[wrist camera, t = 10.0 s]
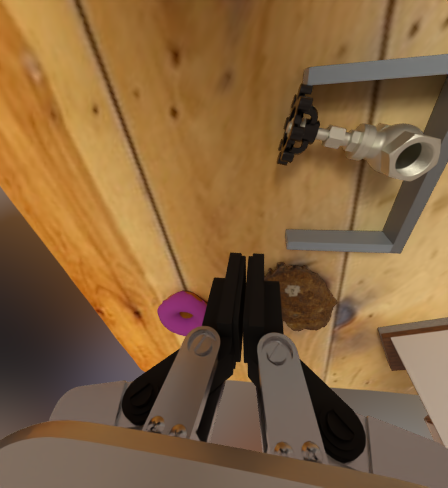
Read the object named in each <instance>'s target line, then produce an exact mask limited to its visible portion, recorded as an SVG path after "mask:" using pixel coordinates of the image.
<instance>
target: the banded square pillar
mask: <svg viewBox="0 0 448 488" xmlns="http://www.w3.org/2000/svg"><path fill="white" fill-rule="evenodd" d="M378 331H379V334H380V337H381V341H382V344H383V348H384V351H385V354H386V358H387V361H388V363H389V365H390V368H391V370H392V371H395V370H406V371H407V373H408V375H409V377H410V379H411V381H412V383H413V385H414V387H415V389H416V391H417V393H418V395H419V397H420V398H421V401H422V403H423V405H424V407H425V408H426V411H427V413H428V415H427V416H426V417H425V418H424V420H425V422H426V424H427V426H428V428H429V430H430V433H431V435H432V437H433V439H434V441H435V442H437V443H439V444H441V445H443V446H445V447H446V448H448V317H447V318H441V319H434V320H427V321H420V322H414V323H407V324H400V325H393V326H386V327H380V328H378Z"/></svg>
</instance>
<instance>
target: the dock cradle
mask: <svg viewBox="0 0 448 488" xmlns="http://www.w3.org/2000/svg"><path fill="white" fill-rule="evenodd" d="M442 74H448V54H442V55H432V56H421V57H411V58H400V59H390V60H379V61H369V62H358V63H348V64H337V65H327V66H316V67H309V68H307V69H304V76H303V84H307V85H320V84H332V83H344V82H356V81H369V80H381V79H393V78H405V77H417V76H429V75H442ZM423 134H424V135H427V136H431V137H434V138H438V139H441V148H440V155H439V159H438V162H437V165H435V166H434V167H433V168H432V169H430V170H429V171H428V172H426V173H425V174H423V175H422V176H420V177H418V178H417V179H415V180H413V181H403V183H402V186H401V188H400V190H399V193H398V195H397V197H396V200H395V202H394V205H393V207H392V209H391V212H390V214H389V217H388V219H387V221H386V224H385V226H384V228H383V231H341V230H294V229H286V233H285V239H286V247H287V249H290V250H318V251H346V252H374V253H401V252H402V250H403V248H404V246H405V244H406V242H407V240H408V238H409V236H410V234H411V232H412V230H413V228H414V226H415V225H416V223H417V221H418V219H419V217H420V215H421V213H422V211H423V209H424V207H425V205H426V203H427V201H428V199H429V197H430V195H431V193H432V191H433V189H434V187H435V186H436V184H437V182H438V180H439V178H440V176H441V174H442V172H443V170H444V168H445V166H446V164H447V162H448V76H447V78H446V81H445V83H444V85H443V88H442V90H441V92H440V95H439V97H438V100H437V102H436V104H435V107H434V109H433V112H432V114H431V116H430V119H429V121H428V123H427V126H426V128H425V131H424V133H423Z"/></svg>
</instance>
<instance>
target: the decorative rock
mask: <svg viewBox="0 0 448 488" xmlns="http://www.w3.org/2000/svg"><path fill="white" fill-rule="evenodd" d="M264 280H265V281H279V283H280V295H281V308H282V320H283V321H285V322H286V324H287V326H288V327H290V328H291V329H292V330H293V331H301V330H303V329H308V330H318V329H320V328H321V327H325V326H326V325H327V322H329V320H330V317H331V313H332V310H333V307H334V306H335V305H336V304H337V300H336V299H335V298H334V297H333V295H332V293H330V291H329V290H328V289H327V286H326V284H325V282H324V281H323V280H322V279H321V278H320V277H319V275H318V274H317V273H312V272H311V271H309V270H308V269H307V266H306V265H304V266H303V267H299V266H296V265H295V266H292V265H291V266H288V267H287V266H286V265H285V263H284V262H279V263H277V270H276V271H274V270H271V268H269V272H268V274H267V276H264Z"/></svg>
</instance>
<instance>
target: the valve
mask: <svg viewBox="0 0 448 488" xmlns="http://www.w3.org/2000/svg"><path fill="white" fill-rule="evenodd" d="M312 89H313V86H312V85H307V84H301V85H300V87H299V89H298V93H297V95H296V94H295V95H294V98H293V101H292V104H291V108H292V109H291V113H290V116H289V117H287V118H286V121H285V124H284V130H285V132H284V136H283V139H281V141H280V144H279V148H278V150H279V151H281V152H280V153H279V155H278V158H277V164H281V165H287V163H288V162H289V163H291V162H292V160H293V158H294V155H299V154H301V153H302V152H304V151H305V149H306V148H307V146H308V144H310V145H311V144H312V143H313V142H314V140H315V139H316V140H320V141H322V145H323V146H325V147H330V148H335V149H338V148H339V146H342V149H343V150H345V151H346V157H347V158H348V159H352V160H357V161H359V160H361V159H365V160H366V161H368V164H369V165H370V166H371V168H373V169H374V170H375V171H377V172H379V173H382V174H385V175H387V176H388V177H391V178H395V179H400V180H404V181H413V180H415V179H417V178H418V177H420V176H422V175H423V174H425V173H426V172H428V171H429V170H430V169H432V168H433V167H434V166H435V165H437V162H438V159H439V155H440V148H441V139H438V138H434V137H431V136H427V135H424V134H423V132H422V131H421V130H420V129H419V128H417V127H416V126H413V125H410V124H395V125H387V124H383V123H379V124H378V125H376V126H373V125H369V124H360V125H359V126H358V127H357V128H356V129H355V130H352V129H351V130H350V131H349V132H346V129H345V128H342V127H337V126H333V125H329V126H328V128H327V129H324V128H319V126H320V122H319V121H317V119H318V112H317V109H316V108H315V107H314V106H312V103H313V98H310V97H305V94H311V93H312ZM304 114H309V115H310V116H311V118H310V119H308V118H303V115H304ZM295 141H296V142H301V147H300V148H294V147H293V145H294V143H295Z"/></svg>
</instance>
